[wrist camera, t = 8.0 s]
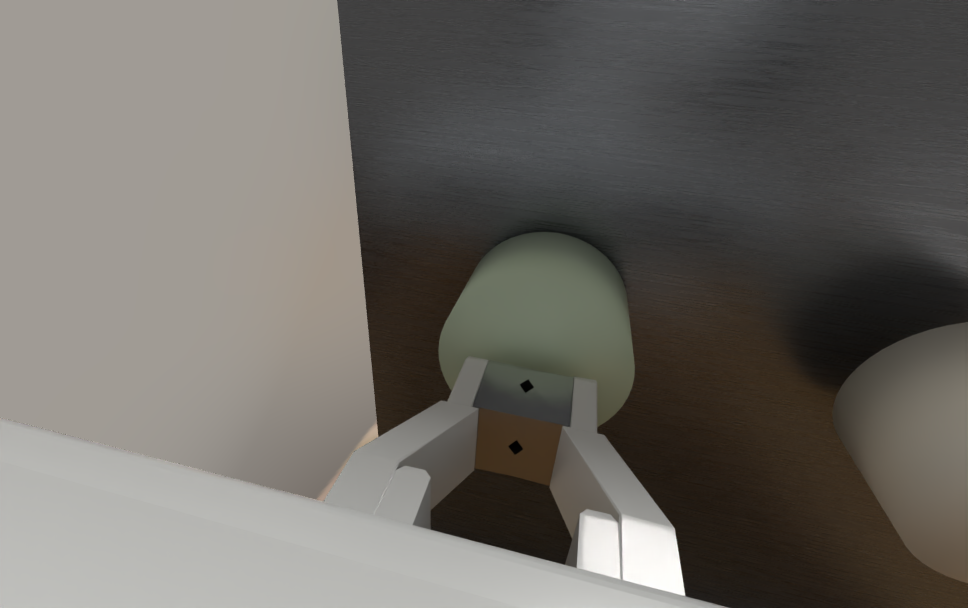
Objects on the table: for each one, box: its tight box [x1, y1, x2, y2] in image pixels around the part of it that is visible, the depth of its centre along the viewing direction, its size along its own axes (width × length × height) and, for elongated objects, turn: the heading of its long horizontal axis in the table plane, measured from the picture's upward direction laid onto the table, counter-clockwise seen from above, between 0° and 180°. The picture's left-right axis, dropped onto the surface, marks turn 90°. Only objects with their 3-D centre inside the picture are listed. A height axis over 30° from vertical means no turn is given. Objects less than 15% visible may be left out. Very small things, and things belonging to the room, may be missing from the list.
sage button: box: [438, 232, 635, 427], centre depth 12 cm, size 3×5×5 cm, turn 77°
